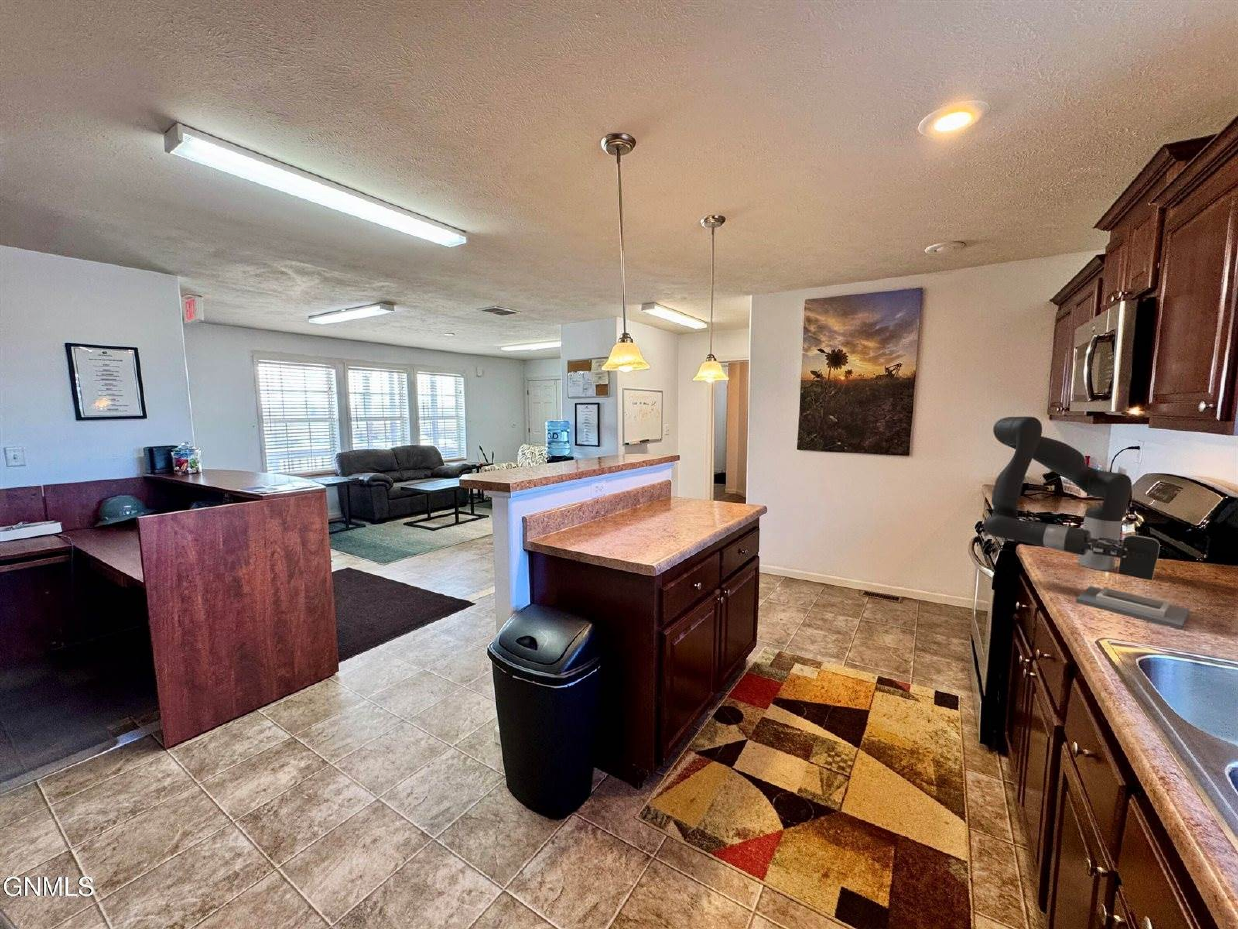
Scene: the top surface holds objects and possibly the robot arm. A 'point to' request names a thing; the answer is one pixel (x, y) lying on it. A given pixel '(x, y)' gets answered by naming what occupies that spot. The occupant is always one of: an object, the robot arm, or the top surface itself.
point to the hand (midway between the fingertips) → (1149, 555)
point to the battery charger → (1137, 566)
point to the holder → (1135, 606)
